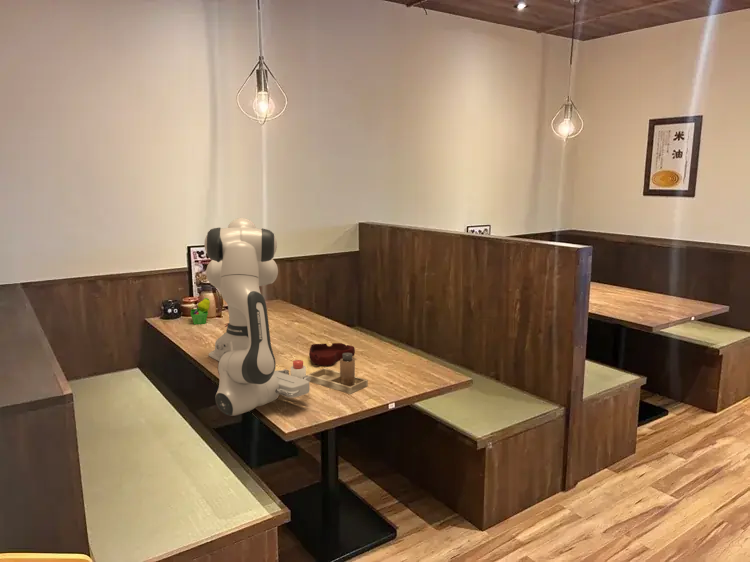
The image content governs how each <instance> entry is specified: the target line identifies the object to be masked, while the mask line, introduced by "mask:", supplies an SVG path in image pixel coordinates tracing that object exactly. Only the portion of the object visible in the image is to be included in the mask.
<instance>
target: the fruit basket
mask: <svg viewBox="0 0 750 562" xmlns="http://www.w3.org/2000/svg"><path fill="white" fill-rule="evenodd" d="M210 304H211V301H210V299H209V298H208V297H207V298H206V297H204V298H203V300H201V301H199V302H198V304H197V308H193V309H190V317H191V319H192V322H193V324H194V326H195V325H205V324H206V323H207V318H208V315H209V309H210V306H211V305H210Z"/></svg>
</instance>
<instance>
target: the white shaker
mask: <svg viewBox="0 0 750 562" xmlns="http://www.w3.org/2000/svg"><path fill="white" fill-rule="evenodd" d="M290 375H291V376H294V377H297V378H300V379H303V377H304V376H307V366H306V365H304V361H303V360H302V359H296V360H293V361H292V366H290Z"/></svg>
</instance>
